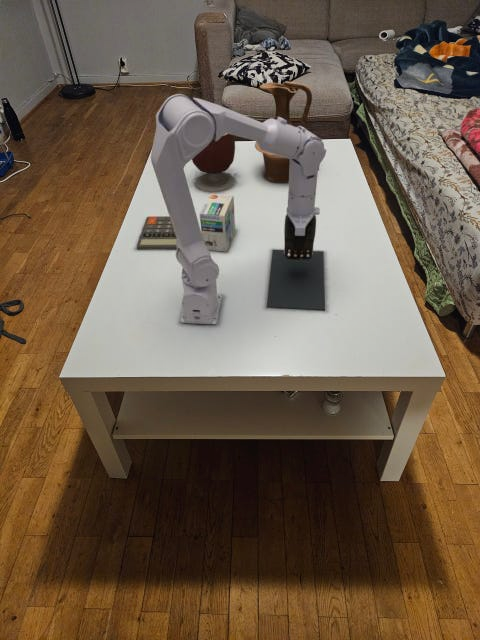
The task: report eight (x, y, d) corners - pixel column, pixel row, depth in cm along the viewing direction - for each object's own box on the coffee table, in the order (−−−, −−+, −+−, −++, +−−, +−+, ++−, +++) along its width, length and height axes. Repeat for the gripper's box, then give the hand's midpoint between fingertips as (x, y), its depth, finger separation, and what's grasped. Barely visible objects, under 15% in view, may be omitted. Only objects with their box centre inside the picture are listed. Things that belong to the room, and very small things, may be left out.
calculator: (187, 215, 130) (180, 246, 119) (187, 218, 131) (180, 249, 120) (147, 216, 131) (136, 246, 120) (147, 218, 131) (136, 249, 120)
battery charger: (283, 261, 105) (284, 218, 98) (283, 252, 108) (285, 209, 100) (313, 262, 105) (317, 218, 97) (313, 253, 108) (317, 209, 100)
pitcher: (310, 164, 153) (317, 73, 134) (308, 189, 141) (315, 92, 121) (258, 162, 155) (257, 72, 136) (251, 186, 143) (250, 91, 124)
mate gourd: (238, 173, 150) (236, 110, 136) (233, 193, 140) (230, 128, 126) (192, 172, 152) (185, 109, 138) (184, 192, 142) (176, 127, 128)
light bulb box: (227, 252, 118) (225, 216, 111) (202, 250, 119) (198, 214, 112) (235, 230, 126) (234, 194, 118) (212, 228, 127) (209, 192, 119)
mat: (325, 310, 101) (325, 309, 101) (266, 307, 103) (266, 306, 102) (323, 252, 117) (323, 251, 117) (272, 250, 118) (272, 249, 118)
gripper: (322, 209, 89) (316, 264, 99) (321, 174, 99) (315, 228, 109) (286, 208, 90) (283, 263, 99) (288, 174, 100) (286, 227, 110)
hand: (298, 245), depth 104 cm, fingers closed on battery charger, 4 cm apart
